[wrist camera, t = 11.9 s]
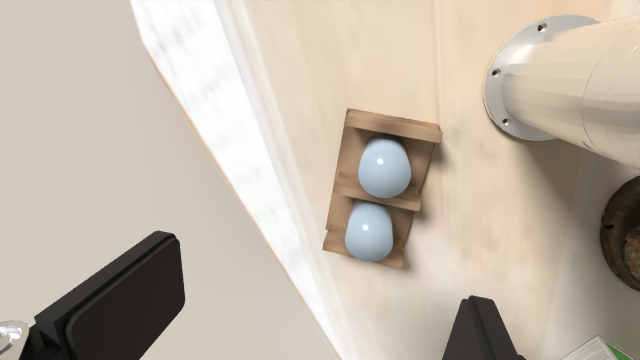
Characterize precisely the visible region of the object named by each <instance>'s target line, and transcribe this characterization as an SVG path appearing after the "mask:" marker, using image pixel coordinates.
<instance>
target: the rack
mask: <svg viewBox="0 0 640 360" xmlns="http://www.w3.org/2000/svg"><path fill="white" fill-rule="evenodd" d="M439 127H440V126H439V125H438V124H433V123H427V122H422V121H416V120H411V119H405V118H400V117H394V116H388V115H383V114H377V113H372V112H366V111H361V110H355V109H350V108H348V109H347V113H346V118H345V124H344V129H343V135H342V141H341V146H340V152H339V157H338V163H337V168H336V174H335V180H334V185H333V191H332V196H331V202H330V208H329V213H328V219H327V224H326V230H328V232H327V235H326V238H325V241H324V244H323V250H325V251H329V252H334V253H338V254H342V255H346V256H350V257H354V256H353V255H352V254H351V253H350V252H349V251H348V249H347V247H346V244H345V235H346V231H347V227H348V222H349V218H350V213H351V209H352V205H353V202H354V200H355V199H356V198H359V199H364V200H368V201H373V202H377V203H382V204H387V205H390V206H391V216H392V234H393V246H392V249H391V251H390V253H389V254H388V255H387V256H386V257H385V258H383V259H381V260H379V261H374V262H375V263H379V264H383V265H387V266H391V267H395V268H400V269H402V267H403V264H404V259H403V249H402V247H403V248H404V244H405V241H406V238H407V234H408V231H409V228H410V224H411V221H412V217H413V214H414V211H420V208H421V205H422V203H421V199H420V196H419V194H420V191H421V187H422V184H423V181H424V177H425V174H426V170H427V167H428V164H429V160H430V157H431V154H432V150H433V147H434V144H435V142H436V143H440V142H441V139H442V136H443V133H442V132H441V131H440V130H439ZM379 133H388V134H393V135H396V136H397V137H398V138H400V139H401V141H402V142H403V144H404V146H405V149H406V153H407V157H408V160H409V164H410V168H411V179H410V182H409V184H408V186H407V187H406V189H405V190H404V191H403V192H402V193H400V194H399V195H397V196H394V197H391V198H378V197H375V196H372V195H371V194H369V193H368V192H366V191H365V190H364V189H363V187H362V186H361V184H360V182H359V178H358V170H359V165H360V161H361V157H362V153H363V149H364V146H365V144H366V142H367V141H368V140H369V139H370V138H371V137H372V136H374V135H376V134H379ZM354 258H356V257H354Z"/></svg>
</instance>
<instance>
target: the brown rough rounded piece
mask: <svg viewBox="0 0 640 360" xmlns="http://www.w3.org/2000/svg"><path fill="white" fill-rule="evenodd" d="M601 222H603V224H605V225H614V227H613V228H611V229H608V230H606V228H605V226H603V227H602V228H601V230H600V239H601V240H600V242H601V246H602V249H603V254H604V257H605V259H606V261H607V263H608V265H609V266H610V268H611V270H612V271H613V272H614V274H616V276H617V277H618V278H619V279H621V280H622V281H623V282H624V283H625V284H627V285H628V286H630V287H631V288H632V289H635V290H637V291H639V292H640V176H637V177H635V178H634V179H632V180H630V181H628V182H626V183H625V184H624V185H623V186H622V187H621V188H620V189H619V190H618V191H617V192H616V193H615V194H614V195H613V196H612V197H611V199H610V200H609V202H608V204H607V206H606V209H605V214H604V216H603V217H602V221H601Z"/></svg>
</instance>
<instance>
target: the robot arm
mask: <svg viewBox="0 0 640 360" xmlns="http://www.w3.org/2000/svg"><path fill="white" fill-rule="evenodd" d="M538 26H540V27H541V29H540V31H538ZM494 70H495V71H496V74H495V75H492V72H493V71H494ZM483 99H484V103H485V108H486V110H487V112H488V114H489V116H490V117H491V119H492V120H493V121H494V122H495V124H496V125H497V126H499V127H500V128H501V129H502V130H504V131H505V132H507V133H509V134H511V135H513V136H516V137H518V138H521V139H526V140H532V141H546V140H553V139H558V138H560V139H562V140H565V141H567V142H570V143H572V144H575V145H577V146H580V147H582V148H585V149H587V150H590V151H592V152H595V153H597V154H599V155H602V156H604V157H607V158H609V159H612V160H614V161H617V162H620V163H623V164H625V165H628V166H631V167H633V168H636V169H639V170H640V15H636V16H631V17H626V18H622V19H617V20H612V21H607V22H601V21H599V20H597V19H595V18H593V17H590V16H585V15H581V14H560V15H553V16H549V17H546V18H542V19H539V20H537V21H535V22H533V23H530V24H528V25H526V26H525V27H523V28H521V29H520V30H518V31H517V32H515V33H514V34H513V35H512V36H511V37H509V38H508V39H507V40H506V41H505V42H504V43H503V44H502V46H501V47H500V48H499V49H498V50H497V51H496V53H495V55H494V56H493V58H492V60H491V61H490V63H489V66H488V68H487V71H486V73H485V78H484V83H483ZM504 119H506V122H505V123H502V121H503V120H504ZM184 303H185V292H184V282H183V273H182V262H181V252H180V243H179V240H178V239H176V236H175V235H174V234H172V233H167V232H163V231H155V232H153V233H152V234H151V235H149V236H148V237H146V238H145V239H143V240H142V241H141V242H139V243H138V244H136V245H135V246H134V247H132V248H131V249H129V250H128V251H126V252H125V253H124V254H122V255H121V256H119V257H118V258H117V259H115V260H114V261H112V262H111V263H109V264H108V265H107V266H105V267H104V268H102V269H101V270H100V271H98V272H97V273H95V274H94V275H92V276H91V277H90V278H88V279H87V280H85V281H84V282H83V283H81V284H80V285H78V286H77V287H76V288H74V289H73V290H71V291H70V292H68V293H67V294H66V295H64V296H63V297H61V298H60V299H59V300H57V301H56V302H54V303H53V304H52V305H50V306H49V307H47V308H46V309H45V310H43V311H42V312H40V313H39V314H37V315H36V316H35V317H34V318H35V321H36V324H35V325H33V326H32V327H30V328H29V327H28V326H27V324H26V323H24V322H22V321H5V322H0V360H139V359H140V358H141V357H142V356H143V355H144V353H145V352H146V351H147V350H148V348H149V347H150V346H151V345H152V344H153V343H154V342H155V340H156V339H157V338H158V337H159V336H160V335H161V333H162V332H163V331H164V330H165V329H166V327H167V326H168V325H169V324H170V323H171V321H172V320H173V319H174V318H175V317H176V316H177V315H178V313H179V312H180V311H181V310H182V308H183V306H184ZM442 360H526V359H525V358H524V357H523V356H522V355H517V352H516V350H515V348H514V345H513V343H512V341H511V339H510V336H509V334H508V332H507V330H506V327H505V325H504V323H503V321H502V318H501V316H500V314H499V312H498V309H497V307H496V305H495V303H494V301H493V300H492V299H487V298H483V297H478V296H473V295H471V296H470V297H469V298H468V300H467V299H463V300H462V301H461V304H460V307H459V310H458V313H457V316H456V319H455V322H454V325H453V328H452V331H451V334H450V337H449V340H448V343H447V346H446V349H445V352H444V355H443V358H442Z"/></svg>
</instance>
